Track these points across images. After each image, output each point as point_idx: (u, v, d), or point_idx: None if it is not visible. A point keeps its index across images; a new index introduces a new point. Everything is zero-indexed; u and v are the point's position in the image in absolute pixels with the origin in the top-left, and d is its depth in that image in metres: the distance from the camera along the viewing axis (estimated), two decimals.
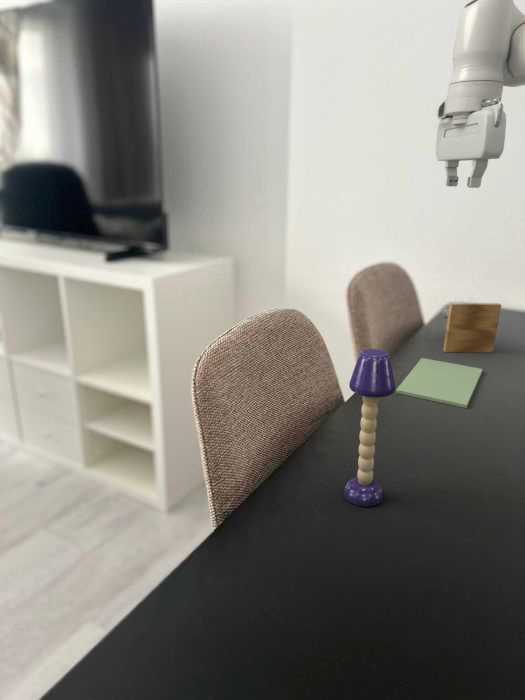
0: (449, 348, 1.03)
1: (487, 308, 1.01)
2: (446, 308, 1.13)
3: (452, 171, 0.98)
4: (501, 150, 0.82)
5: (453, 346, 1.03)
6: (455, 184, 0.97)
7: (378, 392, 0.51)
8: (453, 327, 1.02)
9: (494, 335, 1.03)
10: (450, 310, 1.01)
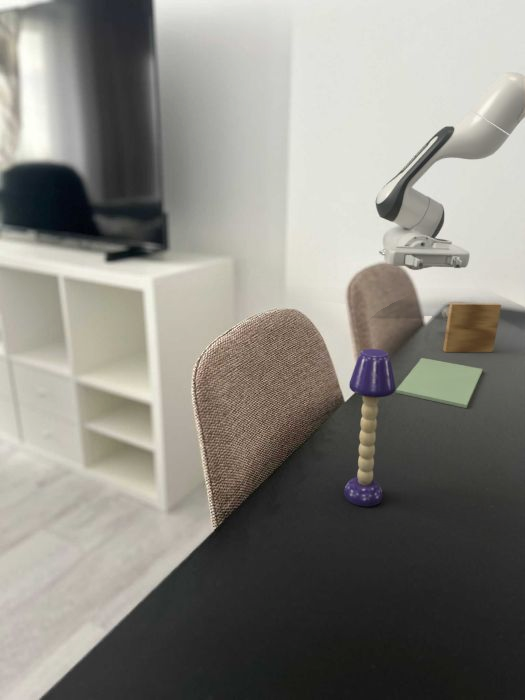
0: (449, 348, 1.03)
1: (487, 308, 1.01)
2: (446, 308, 1.13)
3: None
4: (389, 252, 1.22)
5: (453, 346, 1.03)
6: (455, 262, 1.19)
7: (378, 392, 0.51)
8: (453, 327, 1.02)
9: (494, 335, 1.03)
10: (450, 310, 1.01)
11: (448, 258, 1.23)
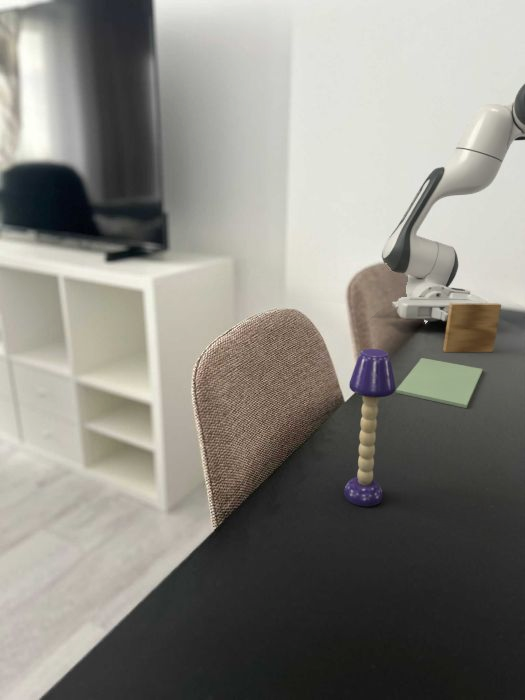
0: (449, 348, 1.03)
1: (487, 308, 1.01)
2: (446, 308, 1.13)
3: None
4: (402, 304, 1.15)
5: (453, 346, 1.03)
6: None
7: (378, 392, 0.51)
8: (453, 327, 1.02)
9: (494, 335, 1.03)
10: (450, 310, 1.01)
11: None
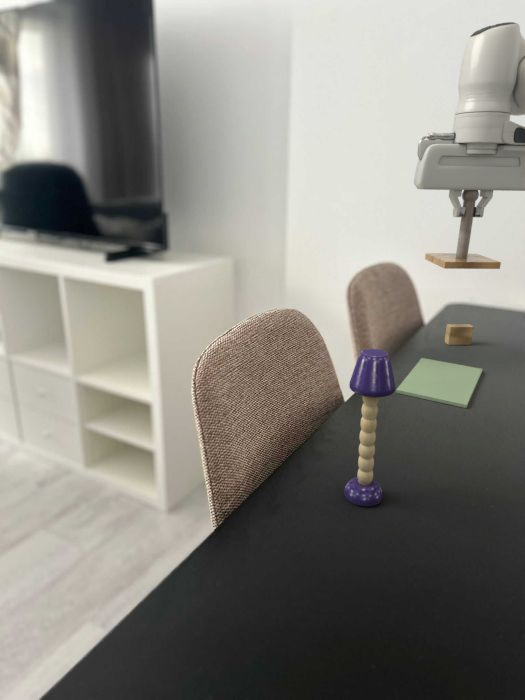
0: None
1: None
2: (468, 197, 0.90)
3: (482, 201, 0.91)
4: (419, 182, 0.88)
5: None
6: (474, 215, 0.91)
7: (378, 392, 0.51)
8: None
9: None
10: (441, 264, 0.91)
11: None
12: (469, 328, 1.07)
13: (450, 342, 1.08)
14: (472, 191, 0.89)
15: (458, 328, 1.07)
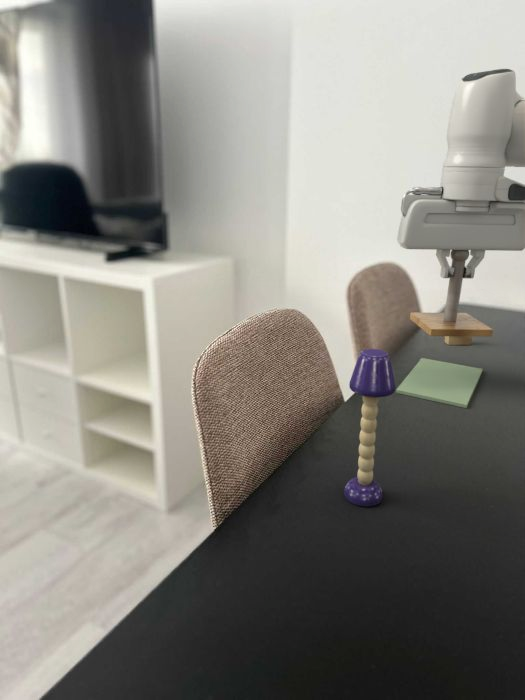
0: None
1: None
2: (457, 257, 0.81)
3: (473, 261, 0.82)
4: (402, 241, 0.79)
5: None
6: (463, 276, 0.82)
7: (378, 392, 0.51)
8: None
9: None
10: (427, 331, 0.82)
11: None
12: None
13: (450, 342, 1.08)
14: (462, 251, 0.80)
15: None
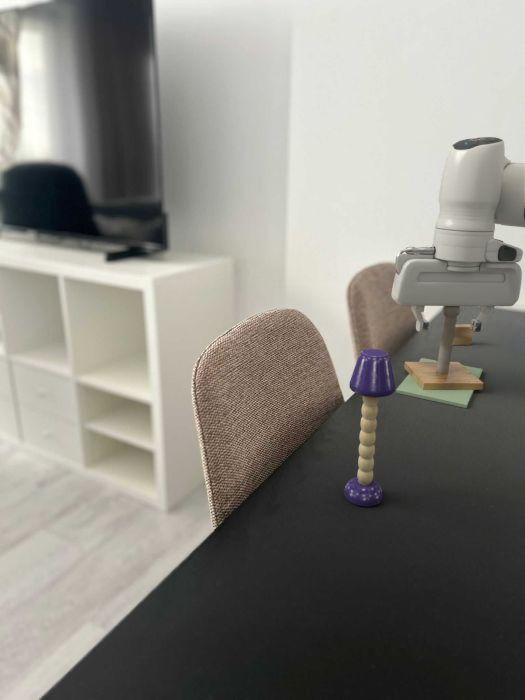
0: None
1: None
2: (449, 313, 0.84)
3: (482, 315, 0.85)
4: (396, 298, 0.82)
5: None
6: (473, 329, 0.85)
7: (378, 392, 0.51)
8: None
9: None
10: (420, 384, 0.85)
11: None
12: (469, 328, 1.07)
13: None
14: (453, 307, 0.83)
15: (458, 328, 1.07)
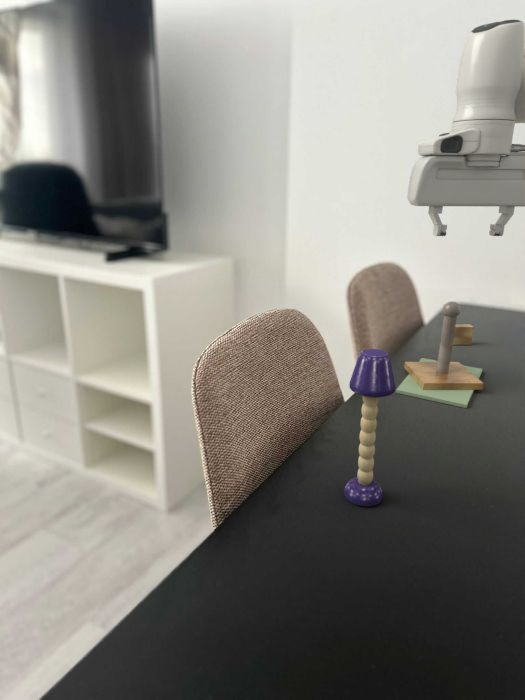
0: None
1: None
2: (449, 313, 0.84)
3: None
4: None
5: None
6: None
7: (378, 392, 0.51)
8: None
9: None
10: (420, 384, 0.85)
11: None
12: (469, 328, 1.07)
13: None
14: (453, 307, 0.83)
15: (458, 328, 1.07)
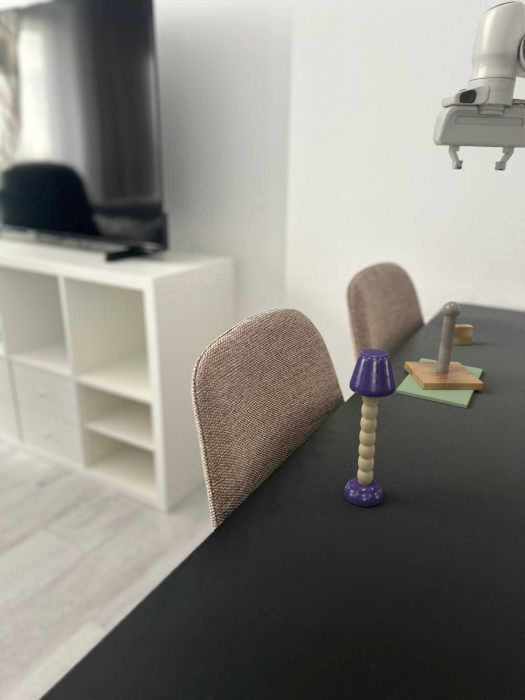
0: None
1: None
2: (449, 313, 0.84)
3: None
4: None
5: None
6: None
7: (378, 392, 0.51)
8: None
9: None
10: (420, 384, 0.85)
11: None
12: (469, 328, 1.07)
13: None
14: (453, 307, 0.83)
15: (458, 328, 1.07)
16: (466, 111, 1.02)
